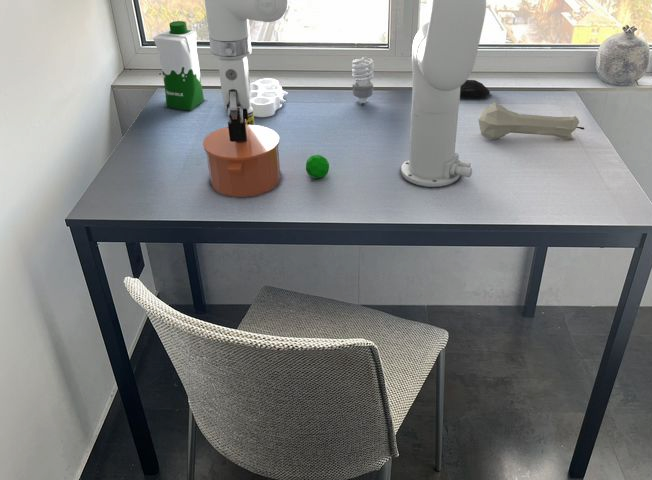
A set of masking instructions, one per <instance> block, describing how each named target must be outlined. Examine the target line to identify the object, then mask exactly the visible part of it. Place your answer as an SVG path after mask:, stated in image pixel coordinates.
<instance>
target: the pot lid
mask: <svg viewBox="0 0 652 480" xmlns="http://www.w3.org/2000/svg"><path fill="white" fill-rule="evenodd" d="M243 121H245V129H246V141H237V142H231V141H230V137H229V129H228V126H225V127H222V128H218V129H216V130H214V131H212V132H210V133H209V134H208V135H206V136H205V138H204V139H203V142H202V146H203V150H204V151H205V153H206V152H207V153H208V154H209V155H211V156H213V157H216V158H220V159H225V160H248V159H254V158H258V157H261V156H264V155H266V154H269V153H270V152H272V151H274V150H275V149H276V148H277V147H278V148H279V145H280V136H279V134H278V133H277V132H276V131H275V130H274V129H271V128H269V127H266V126H263V125H256V124H254V125H246V120H245V119H244V118H243Z"/></svg>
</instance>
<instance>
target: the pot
mask: <svg viewBox="0 0 652 480" xmlns="http://www.w3.org/2000/svg"><path fill="white" fill-rule="evenodd" d="M205 154H206V161H207V168H208V173H209V181H210V184H211V187H212V188H213V189H214V191H216V192H217V193H219V194H222V195H224V196H228V197H235V198H247V197H253V196H255V197H256V196H259V195H262V194H265V193H268V192H270V191H271V190H273V189H274V188H276V187H277V186H278V185H279V183H280V180H281V167H280V155H279V146H278V147H277V148H276V149H275V150H274V151H272V152H270V153H269V154H266V155H264V156H261V157H258V158H254V159H248V160H225V159H220V158H216V157H213V156H211V155H209V154H208V153H207V152H206V151H205Z"/></svg>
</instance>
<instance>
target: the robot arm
mask: <svg viewBox="0 0 652 480" xmlns="http://www.w3.org/2000/svg"><path fill="white" fill-rule="evenodd" d="M289 1H290V0H204V7H205V15H206V23H207V33H208V39H209V41H208V42H209V49H210V55H211V56H212V57H213V58H215V59H217V65H218V72H219V80H220V89H221V95H222V101H223V103H222V104H223V107H224V109H225V110H226V111H227V118H228V119H227V127H228V129H229V137H230V141H231V142H237V141H246V129H245V121H243V118H244V119H245V120H246V121H247V120H248V111H247V109H249V108H250V103H251V88H250V83H251V79H250V72H249V71H250V70H249V63H248V61H249V60H248V57H249V56H251V54H252V44H251V43H252V42H251V33H250V22H249V21H255V22H261V23H272V22H276V21H279V20H280V19H282V18H283V17H284V16H285V15H286V13H287V11H288V8H289V3H290V2H289ZM425 1H426V3H427V6H428V8H429V10H430V15H429V21H428V22H426V23H425V24H423V25H422V26H421V27H420V29H418V31H417V33H416V34H415V36H414V39H413V42H412V48H411V65H412V66H411V69H412V71H411V72H412V85H411V86H412V87H411V89H412V91H411V109H410V127H409V129H410V131H409V150H408V151H409V154H408V159H407V160H405V161H404V162H403V163H402V165H401V168H400V173H401V175H402V177H403V178H404V180H406V181H408V182H409V183H412V184H414V185H415V186H416V185H417V186H421V187H427V188H429V187H430V188H439V187H445V186H449V185H451V184H453V183H455V182H456V181H458V180H459V178H460V177H464V178H471V177H472V174H473V168H472V167H471V163H470V162H463V161H461V160H460V159H459V155H460V154H459V153H458V152H456V142H457V141H456V140H457V131H458V121H459V120H458V118H459V110H460V109H459V108H460V100H461V98H460V86H461V85H463V84H464V83H465V82H466V80H469V78H470V76H471V74H472V72H473V70H474V66H475V62H476V59H477V54H478V51H479V46H480V41H481V37H482V32H483V26H484V22H485V18H486V13H487V0H425Z"/></svg>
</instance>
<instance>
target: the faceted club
mask: <svg viewBox="0 0 652 480" xmlns="http://www.w3.org/2000/svg"><path fill="white" fill-rule="evenodd" d="M579 124H580V120H579V118H578V117H577V116H576V115H573V116H549V115H540V114H527V113H525V114H524V113H518V112H515V111H512V110H509V109H508V108H506V107H505V106H503V105H502V104H499V103H497V102H494V103H492V104H491V105H488V107H487V106H486V107H485V108H484V109H483V110H482V112H481V114H480V116H479V118H478V126H479V130H480V133H481V135H482V136H483V137H485V138H486V139H487V140H489V141H494V140H498V139H501V138H502V137H504V136H506V135H508V134H522V135H523V134H524V135H538V136H551V137H552V136H553V137H556V138H561V139H565V140H569V141H570V140H572V139H573V135H572V133H573V132H575V131H576V129H580V130H585V127H584V126H583V127H582V126H579Z"/></svg>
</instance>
